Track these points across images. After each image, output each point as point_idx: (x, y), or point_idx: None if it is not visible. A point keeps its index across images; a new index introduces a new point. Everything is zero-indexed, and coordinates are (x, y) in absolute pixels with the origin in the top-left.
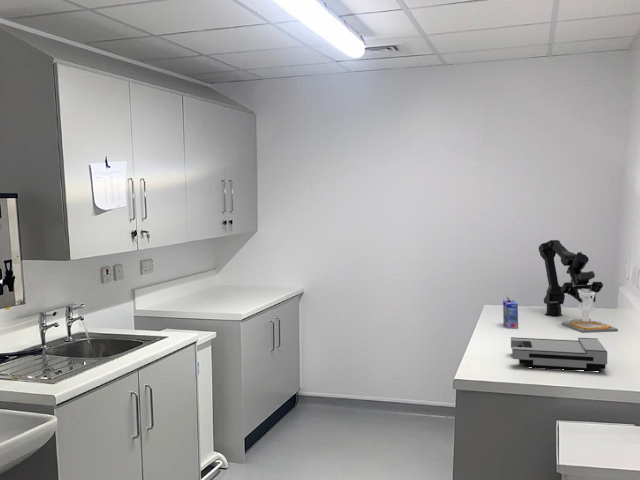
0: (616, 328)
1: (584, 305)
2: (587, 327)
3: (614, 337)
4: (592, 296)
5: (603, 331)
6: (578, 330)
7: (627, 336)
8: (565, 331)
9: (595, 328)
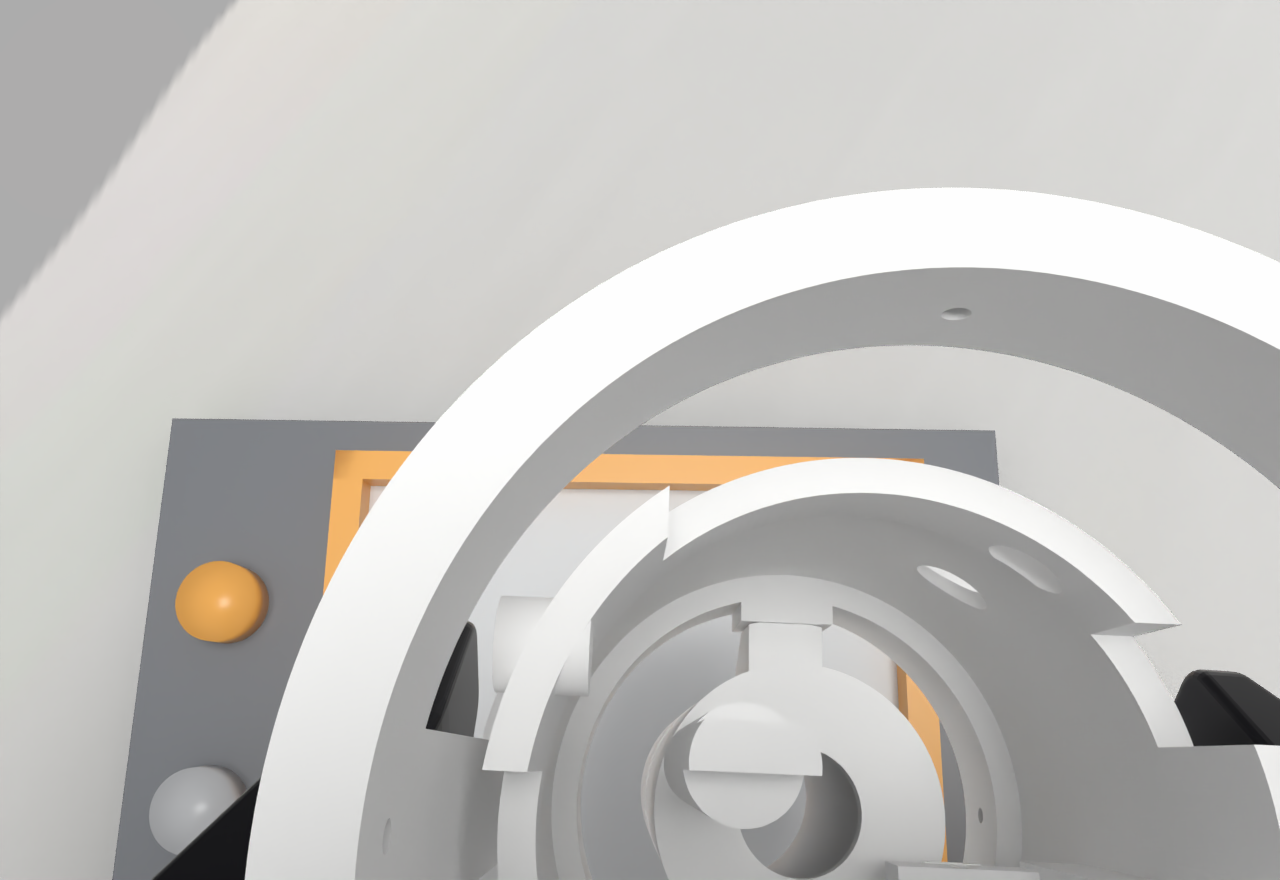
0: (169, 467)
1: (992, 629)
2: None
3: (601, 20)
4: (605, 593)
5: None
6: None
7: (333, 40)
8: (1259, 611)
9: (665, 460)
